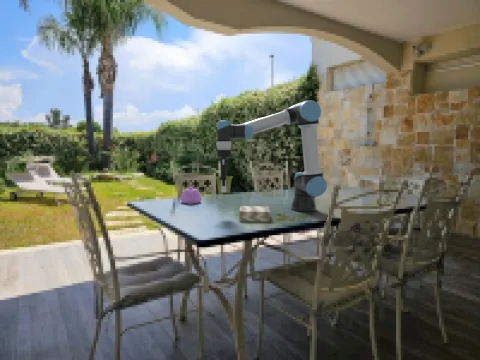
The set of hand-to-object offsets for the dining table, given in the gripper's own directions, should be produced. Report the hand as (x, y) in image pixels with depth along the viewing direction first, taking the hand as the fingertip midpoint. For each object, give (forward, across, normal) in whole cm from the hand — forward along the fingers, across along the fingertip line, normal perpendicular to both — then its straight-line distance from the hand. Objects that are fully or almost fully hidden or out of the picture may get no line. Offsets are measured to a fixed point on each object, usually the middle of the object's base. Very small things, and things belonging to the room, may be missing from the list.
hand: (224, 190), depth 198 cm
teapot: (+14, -46, -26) cm, 54 cm away
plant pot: (+1, 0, 0) cm, 1 cm away
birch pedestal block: (+14, +3, +16) cm, 22 cm away
